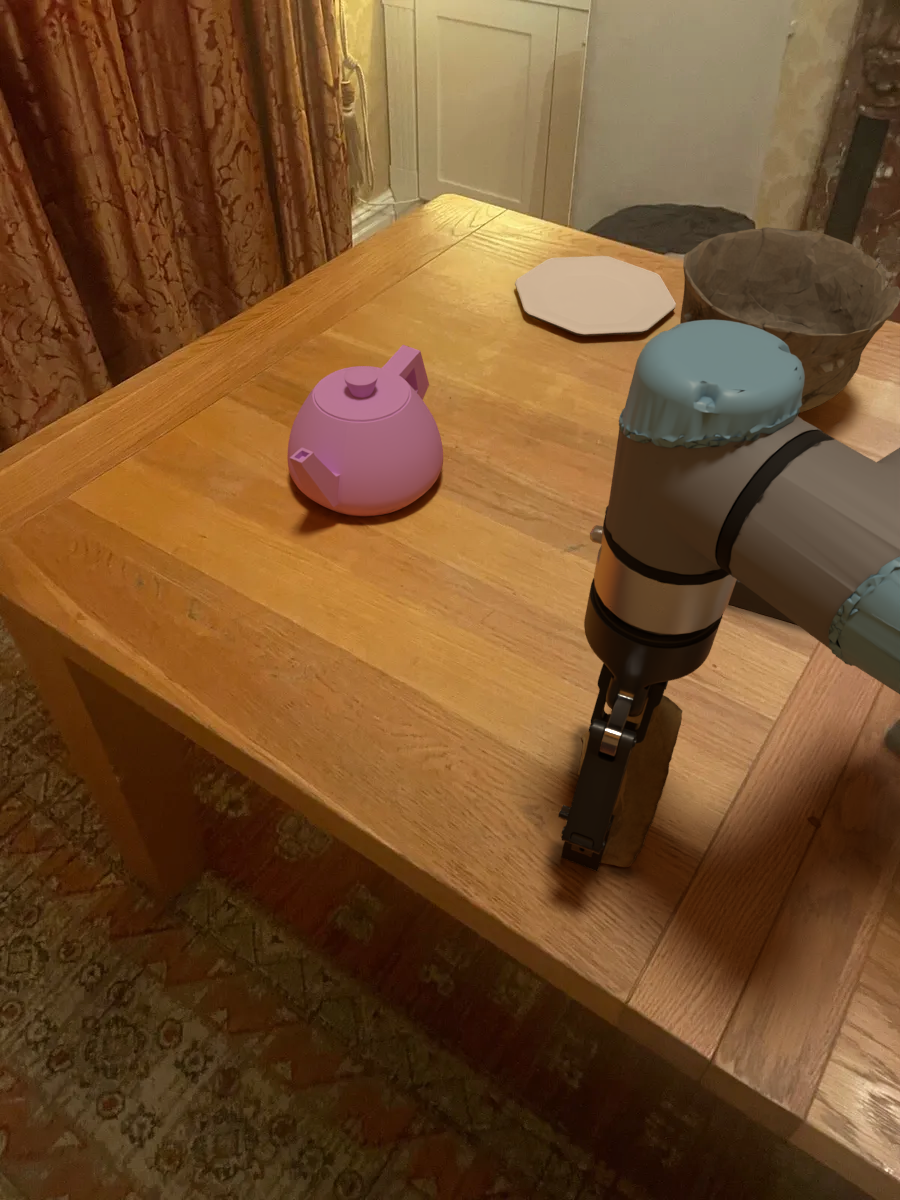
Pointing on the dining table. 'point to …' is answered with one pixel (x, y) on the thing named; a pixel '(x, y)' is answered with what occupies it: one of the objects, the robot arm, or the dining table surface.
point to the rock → (641, 783)
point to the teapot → (367, 438)
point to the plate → (594, 295)
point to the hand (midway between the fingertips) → (602, 796)
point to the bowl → (793, 297)
